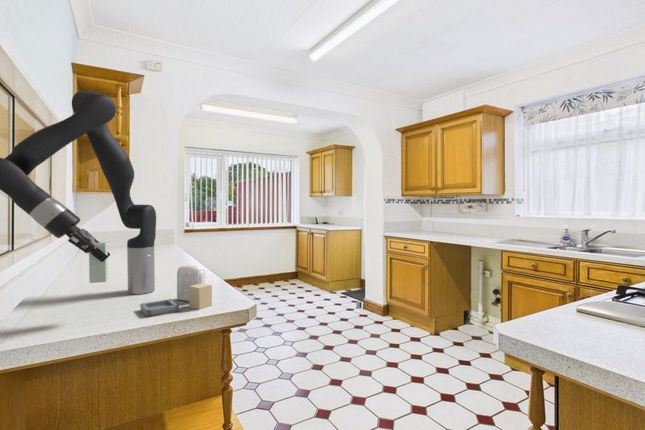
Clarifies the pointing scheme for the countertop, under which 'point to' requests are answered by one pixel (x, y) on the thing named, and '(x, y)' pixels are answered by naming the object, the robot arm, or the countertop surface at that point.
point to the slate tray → (159, 308)
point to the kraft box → (200, 296)
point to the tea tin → (98, 265)
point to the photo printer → (188, 280)
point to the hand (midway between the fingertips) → (106, 258)
